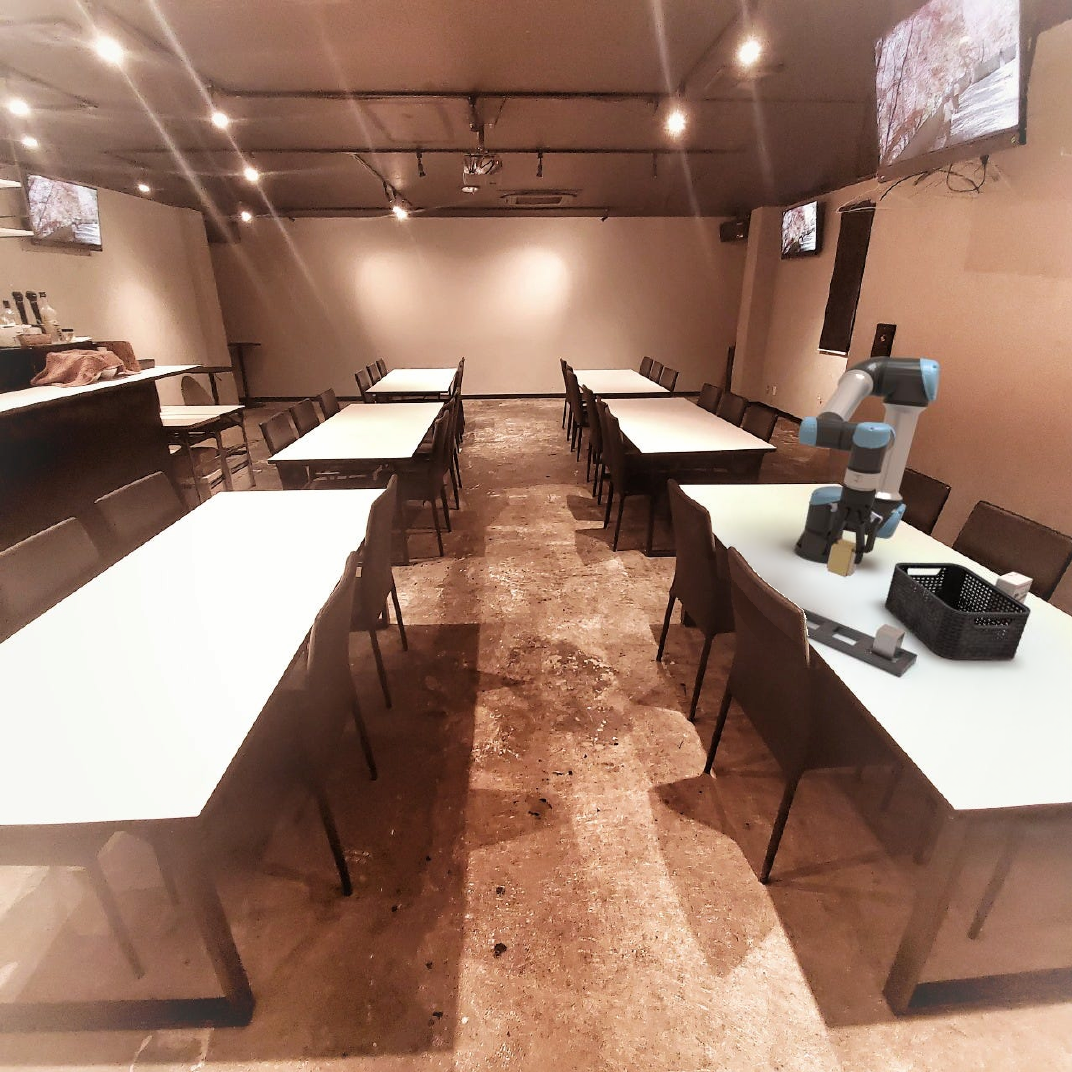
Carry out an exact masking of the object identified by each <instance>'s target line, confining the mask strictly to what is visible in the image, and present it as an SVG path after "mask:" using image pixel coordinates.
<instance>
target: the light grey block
mask: <svg viewBox="0 0 1072 1072" xmlns="http://www.w3.org/2000/svg"><path fill="white" fill-rule="evenodd" d="M875 633H876V634H875V636H874V637H875V640H874V644H873V647H872V651H871V652H870V653H872V654H875V655H877V656H879V657H882V658H884V659H886V660H889V661H891V662H893V663H895V662H896V661H897V660H898V659H899V658H898V656H899V652H900V649H901V648H902V645H903V642H904V638H905V635H906V631H905V630H903V629H900V628H897V627H895V626H893V625H889V624H887V623H884V624H883V625H882V626H879V628H878V629H877V630H876V632H875Z"/></svg>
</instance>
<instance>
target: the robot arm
mask: <svg viewBox="0 0 1072 1072" xmlns="http://www.w3.org/2000/svg"><path fill="white" fill-rule="evenodd" d="M940 370H941V369H940V364H939V362H938V361H937V360H934V359H927V358H923V357H921V358H915V357H914V358H913V357H912V358H911V357H900V356H899V357H896V356H882V355H881V356H873V357H869V358H867V359H863V360H861V361H859V362H857V363H855V364H853V365H851V366H850V367H848V368H847V370H845V371H844V372H843V373H842V374H841V376H840V378H839V379H838V381H837V388H836V389H835V390H834V392H833V394H832V395H831V396H830V398H829V399H828V401H827V403H826V404H825V405H824V407H822V410H821V411H820V412H819V413H818V415H817V416H806V417H804V418H803V419H802V421H801V423H800V426H799V431H798V441H799V443H800V444H801V445H806V446H810V447H814V448H816V447H817V448H824V449H830V450H837V451H844V452H849V453H850V454H849V458H848V462H847V466H846V470H845V476H844V479H843V483H844V484H843V485H842V486H838V485H837V486H832V485H831V486H830V485H829V486H821V487H819V488H815V489H814V490H813V491H812V493H811V495H810V500H809V501H808V504H809V505H808V509H807V515H806V521H805V525H804V529H803V531H802V533H801V534H800V536H799V538H798V540H797V541H796V543H795V546H794V552H795V554H797V555H798V556H799V557H801V558H803V559H806V560H808V561H811V562H816V563H822V564H827V566H826V569H828V567H829V562H830V558H831V553H832V549H833V544H834V543H835V542H837V541H839V540H841V539H844V538H843V534H844V531H845V532H849V533H854V534H855V543H856V550H855V551H854V552H852V556H851V560H850V565H849V569H848V573H847V575H848V576H849V577H850V576H853V575H854V574H855V572H856V568H857V566H859V565H860V564H861V563H862V561H863V557H864V554H869V553H871V552H873V550H874V547H875V544H876V539H877V538H878V539H883V540H888V539H891V538H892V537H893V535H894V534H895V533H896V530H897V528H898V526H899V524H900V522H901V520H902V517H903V516H904V512H905V510H906V508H907V505H906V504H904V503H902V501H903V496H902V495H901V494H900V493H899V492H900V491H899V490H900V487H901V483H902V481H903V475H904V472H905V468H906V465H907V461H908V457H909V453H910V450H911V446H912V442H913V439H914V434H915V431H916V427H917V423H918V420H919V416H920V414H921V413H922V412H923V411H925V410H927V408H928V405H929V403H935V401H936V399H937V394H938V389H939V383H940V382H939V380H940ZM867 397H876V398H883V401H882V403H881V404H882V406H884V408H885V410H886V411H885V414H884V419H883V422H871V421H865V422H854V421H850V419H851V417H852V416H853V415H854V413H855V411H856V410H857V408H858V407H859V405H860V404H861V403H862V400H864V399H866V398H867ZM865 536H867V537H865Z"/></svg>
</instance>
